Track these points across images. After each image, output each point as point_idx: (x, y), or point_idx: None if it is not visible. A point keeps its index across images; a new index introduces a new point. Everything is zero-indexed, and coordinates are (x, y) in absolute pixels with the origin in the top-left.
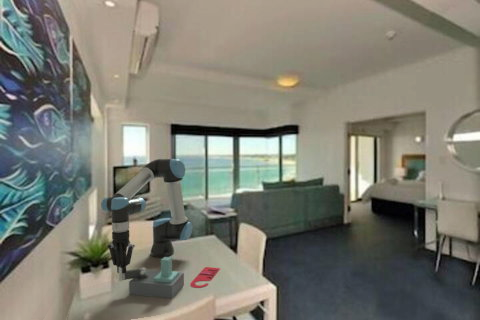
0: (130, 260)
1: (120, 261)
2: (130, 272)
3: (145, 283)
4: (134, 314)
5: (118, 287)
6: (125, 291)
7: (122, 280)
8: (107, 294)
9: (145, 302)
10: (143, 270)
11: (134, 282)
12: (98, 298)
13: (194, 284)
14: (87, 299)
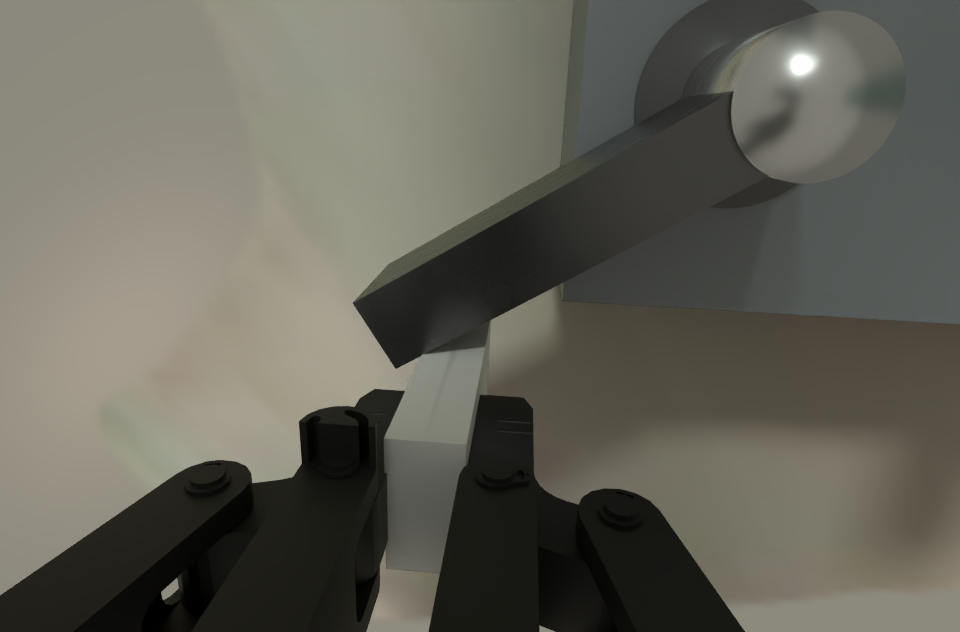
0: (707, 581)
1: (350, 591)
2: (565, 271)
3: (865, 316)
4: (791, 589)
5: (307, 100)
6: (467, 194)
7: (487, 384)
8: (297, 289)
9: (830, 402)
10: (851, 162)
11: (661, 305)
12: (264, 376)
13: None
14: (170, 404)
